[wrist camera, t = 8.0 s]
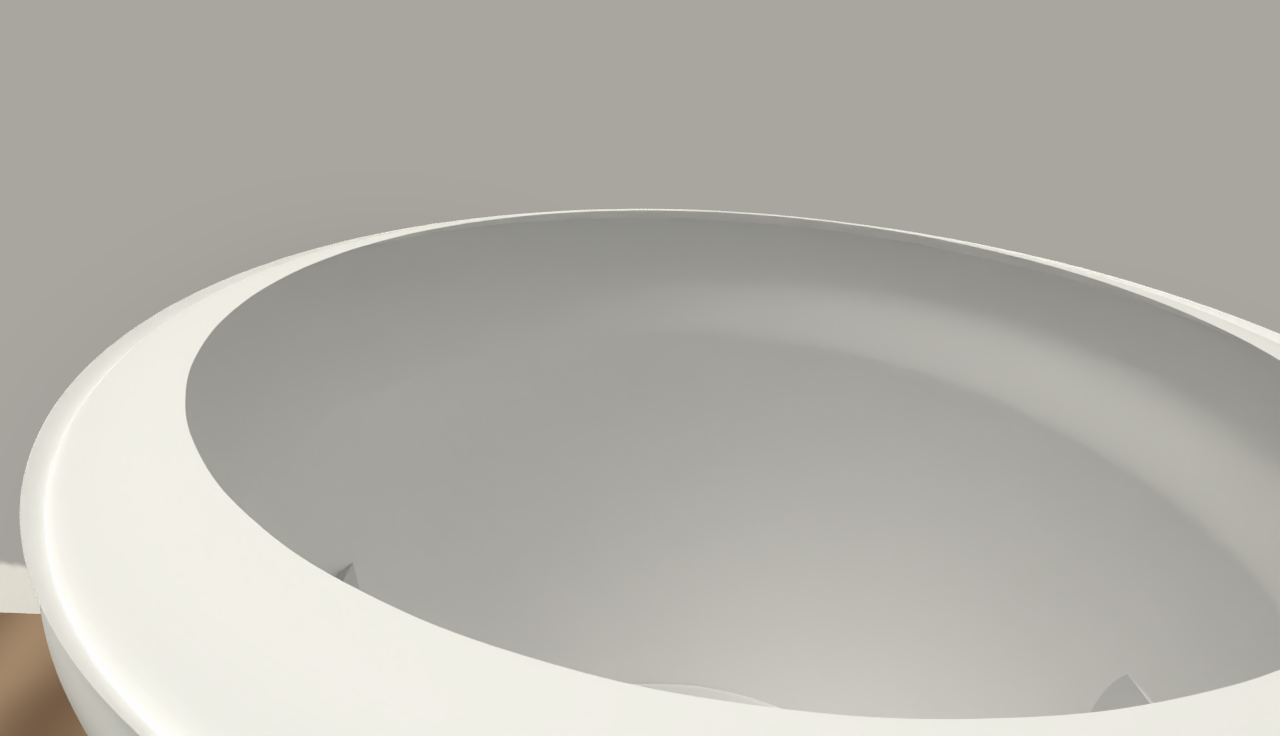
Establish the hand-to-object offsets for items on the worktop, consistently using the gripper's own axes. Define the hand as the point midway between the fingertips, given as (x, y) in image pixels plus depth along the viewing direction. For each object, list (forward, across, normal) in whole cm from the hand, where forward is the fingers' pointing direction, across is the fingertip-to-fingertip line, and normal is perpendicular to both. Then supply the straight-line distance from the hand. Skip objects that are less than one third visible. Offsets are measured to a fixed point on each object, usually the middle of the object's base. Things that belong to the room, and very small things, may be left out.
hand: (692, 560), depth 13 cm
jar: (-4, 0, -9) cm, 10 cm away
